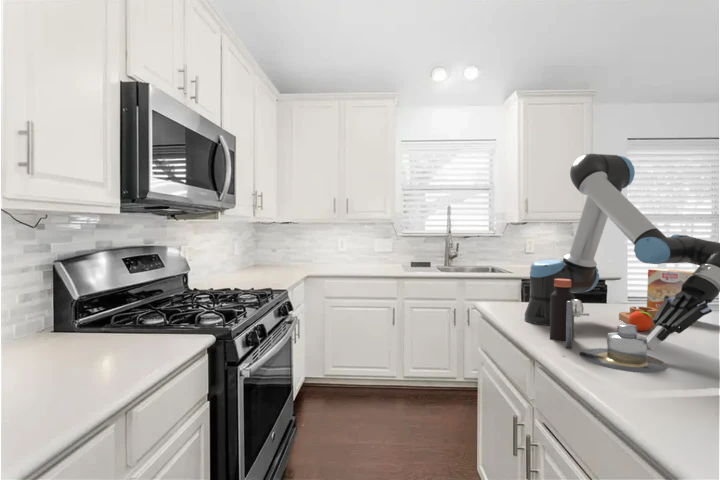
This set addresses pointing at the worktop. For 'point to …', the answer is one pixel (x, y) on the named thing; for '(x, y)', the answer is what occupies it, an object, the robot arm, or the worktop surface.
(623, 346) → the cover
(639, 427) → the worktop surface
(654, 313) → the bracket
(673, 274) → the coffeecake box
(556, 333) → the bottle
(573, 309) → the dial gauge stand
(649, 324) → the clementine
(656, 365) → the grey plate
